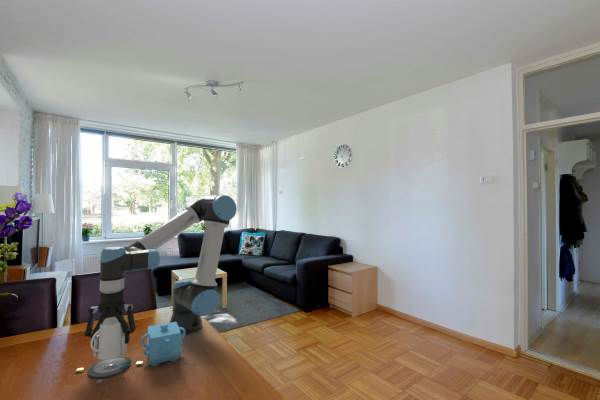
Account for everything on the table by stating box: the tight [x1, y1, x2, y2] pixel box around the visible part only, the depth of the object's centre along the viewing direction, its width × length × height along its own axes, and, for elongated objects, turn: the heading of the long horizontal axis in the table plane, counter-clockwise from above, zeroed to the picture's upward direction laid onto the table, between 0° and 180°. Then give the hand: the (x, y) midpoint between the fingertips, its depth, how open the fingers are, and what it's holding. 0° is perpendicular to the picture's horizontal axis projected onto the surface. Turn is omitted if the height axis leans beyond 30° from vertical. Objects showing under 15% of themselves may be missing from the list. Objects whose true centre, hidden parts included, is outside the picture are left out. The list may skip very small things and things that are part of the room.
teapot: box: [140, 322, 186, 367], centre depth 111 cm, size 18×16×13 cm
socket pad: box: [75, 355, 144, 386], centre depth 104 cm, size 21×17×1 cm
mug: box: [90, 317, 124, 360], centre depth 106 cm, size 12×8×12 cm
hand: (110, 353), depth 106 cm, fingers closed on mug, 8 cm apart
